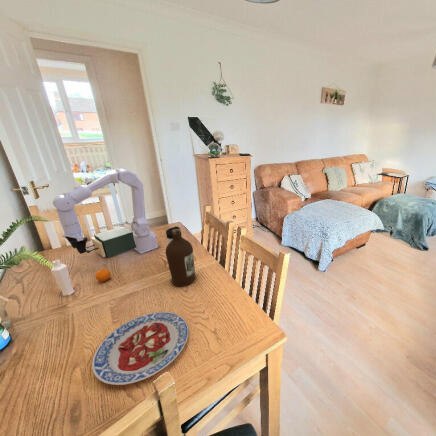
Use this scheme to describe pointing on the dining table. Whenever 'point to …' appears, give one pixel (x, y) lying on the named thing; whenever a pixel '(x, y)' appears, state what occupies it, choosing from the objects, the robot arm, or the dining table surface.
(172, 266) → the brown bottle
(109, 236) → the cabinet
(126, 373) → the ceramic plate
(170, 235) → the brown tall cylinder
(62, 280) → the perfume bottle
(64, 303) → the dining table surface
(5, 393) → the dining table surface
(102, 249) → the drawer
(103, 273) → the orange
